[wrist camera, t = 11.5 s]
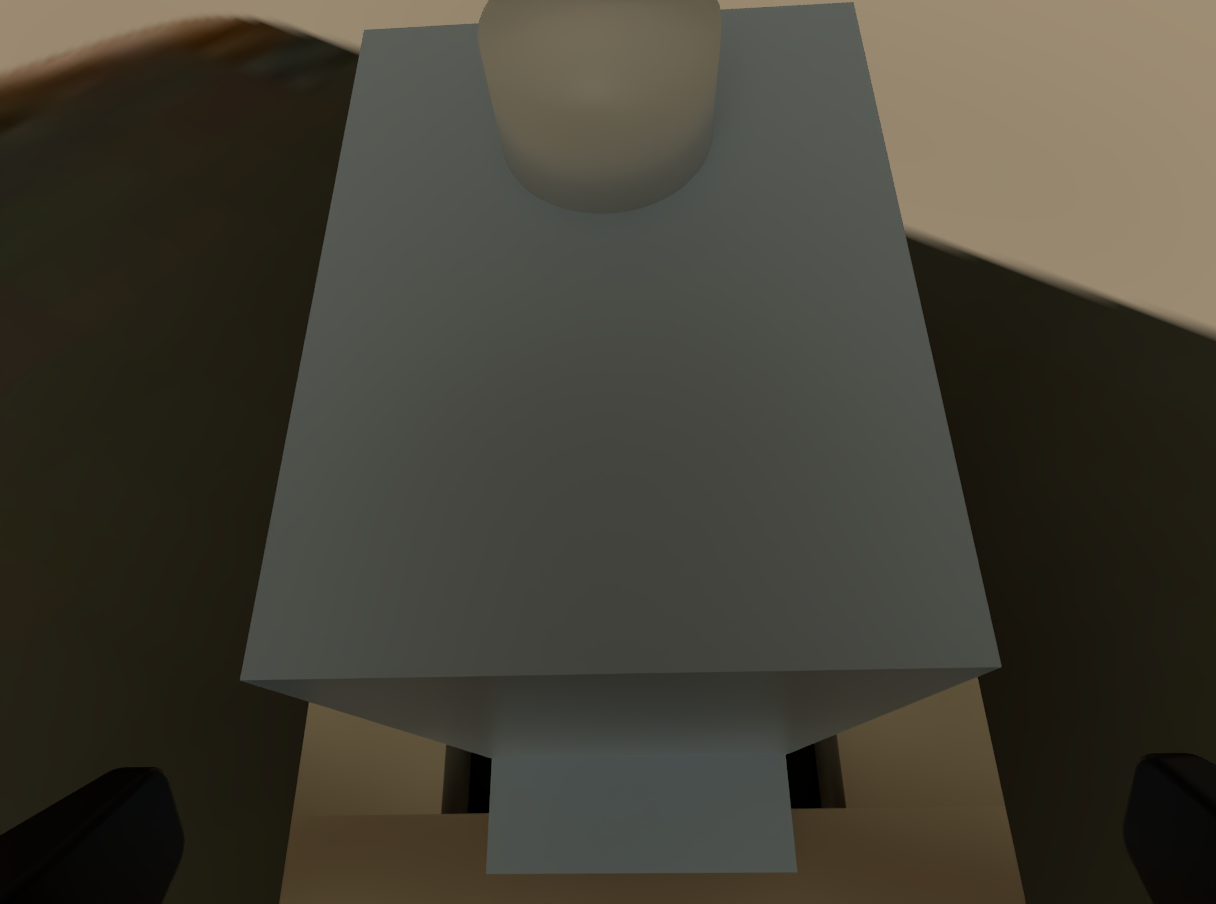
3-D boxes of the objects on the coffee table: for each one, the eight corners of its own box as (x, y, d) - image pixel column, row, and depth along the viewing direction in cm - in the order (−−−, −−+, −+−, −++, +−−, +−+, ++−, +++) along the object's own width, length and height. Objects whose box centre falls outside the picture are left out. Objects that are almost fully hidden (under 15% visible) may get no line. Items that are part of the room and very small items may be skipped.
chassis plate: (990, 969, 13) (1045, 995, 11) (318, 972, 13) (264, 998, 12) (870, 342, 18) (894, 290, 16) (394, 361, 19) (366, 313, 17)
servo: (770, 860, 14) (1207, 1054, 3) (517, 862, 14) (41, 1047, 3) (730, 411, 18) (853, -223, 7) (533, 417, 18) (349, -187, 7)
